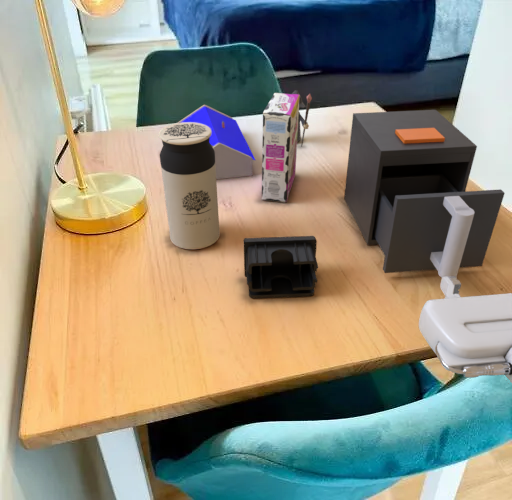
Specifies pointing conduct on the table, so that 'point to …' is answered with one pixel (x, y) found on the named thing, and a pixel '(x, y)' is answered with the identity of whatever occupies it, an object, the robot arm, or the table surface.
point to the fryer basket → (433, 224)
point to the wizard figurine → (300, 118)
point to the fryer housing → (401, 157)
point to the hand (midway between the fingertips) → (486, 277)
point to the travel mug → (190, 184)
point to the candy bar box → (279, 146)
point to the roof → (225, 142)
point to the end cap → (280, 266)
